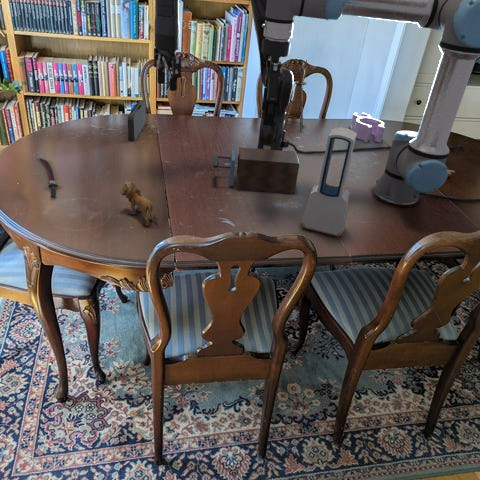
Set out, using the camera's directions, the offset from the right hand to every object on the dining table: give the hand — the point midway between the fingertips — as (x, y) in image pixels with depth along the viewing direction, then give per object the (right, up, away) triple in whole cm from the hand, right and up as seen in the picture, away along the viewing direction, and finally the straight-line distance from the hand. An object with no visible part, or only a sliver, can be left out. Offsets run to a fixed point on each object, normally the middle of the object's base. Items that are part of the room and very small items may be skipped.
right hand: (267, 117), depth 135 cm
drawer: (-5, -15, +26) cm, 30 cm away
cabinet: (+1, -16, +26) cm, 31 cm away
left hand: (-31, +13, +12) cm, 36 cm away
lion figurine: (-37, -29, +1) cm, 47 cm away
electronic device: (+17, -32, +5) cm, 37 cm away
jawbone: (+68, -7, +53) cm, 87 cm away
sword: (-70, -15, +16) cm, 74 cm away
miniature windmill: (+17, +16, +79) cm, 83 cm away
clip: (+50, +13, +81) cm, 96 cm away
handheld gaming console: (-50, +9, +58) cm, 77 cm away
